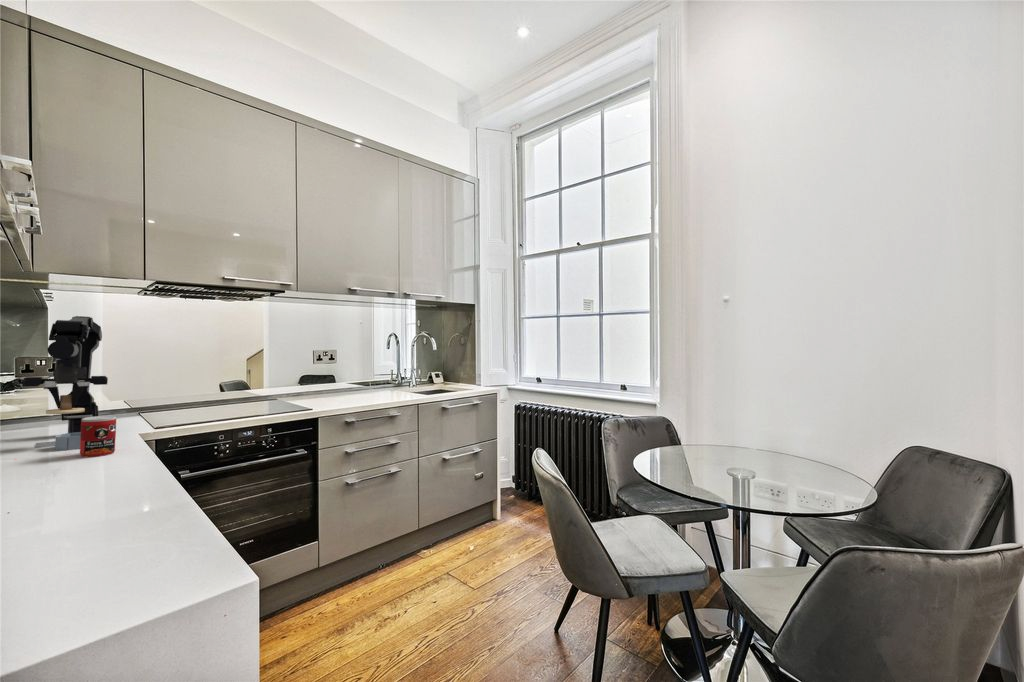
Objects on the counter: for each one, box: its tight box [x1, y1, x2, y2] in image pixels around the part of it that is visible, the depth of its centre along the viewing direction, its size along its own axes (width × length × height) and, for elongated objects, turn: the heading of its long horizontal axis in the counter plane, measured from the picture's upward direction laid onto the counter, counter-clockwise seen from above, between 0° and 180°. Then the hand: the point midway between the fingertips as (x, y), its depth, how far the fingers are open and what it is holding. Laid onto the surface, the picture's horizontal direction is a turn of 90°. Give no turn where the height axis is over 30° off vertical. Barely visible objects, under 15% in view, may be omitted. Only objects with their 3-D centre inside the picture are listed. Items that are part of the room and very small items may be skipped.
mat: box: [34, 440, 55, 449], centre depth 140 cm, size 10×8×1 cm
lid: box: [45, 394, 85, 415], centre depth 137 cm, size 9×9×6 cm
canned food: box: [79, 415, 117, 458], centre depth 129 cm, size 8×8×11 cm
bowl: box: [54, 432, 81, 451], centre depth 136 cm, size 9×9×4 cm
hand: (65, 408), depth 137 cm, fingers closed on lid, 3 cm apart
